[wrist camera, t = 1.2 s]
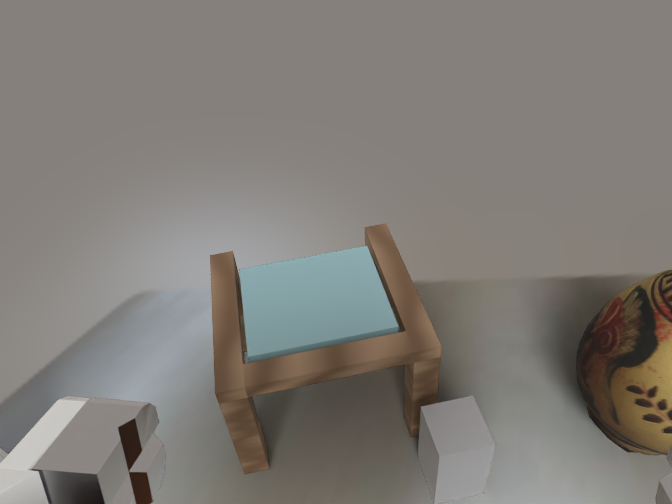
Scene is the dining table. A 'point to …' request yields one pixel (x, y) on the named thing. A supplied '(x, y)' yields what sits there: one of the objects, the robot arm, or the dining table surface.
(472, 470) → the light grey block
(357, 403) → the dining table surface
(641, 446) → the ceramic jug
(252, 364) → the trapdoor frame
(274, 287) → the trapdoor
